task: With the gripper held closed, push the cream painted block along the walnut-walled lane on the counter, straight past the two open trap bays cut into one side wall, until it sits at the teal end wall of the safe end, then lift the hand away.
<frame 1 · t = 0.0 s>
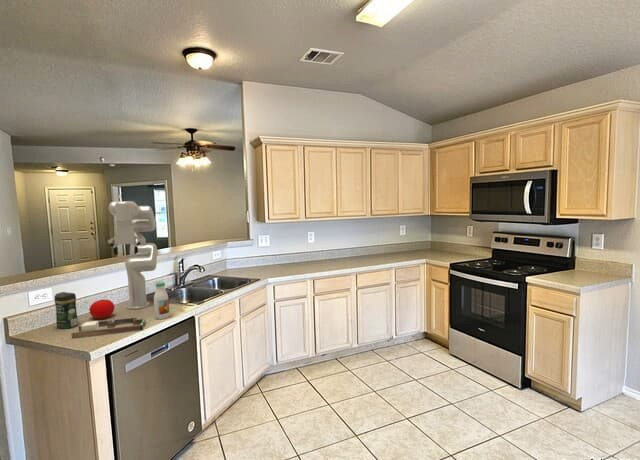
hand: (126, 254, 195), 37 cm above the worktop, tool pointing down, fingers open, 9 cm apart
milk bottle: (162, 317, 199), on the worktop
block: (90, 333, 177), resting in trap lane
coffee jar: (67, 326, 187), on the worktop
tomato: (102, 317, 201), on the worktop
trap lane: (110, 330, 180), on the worktop
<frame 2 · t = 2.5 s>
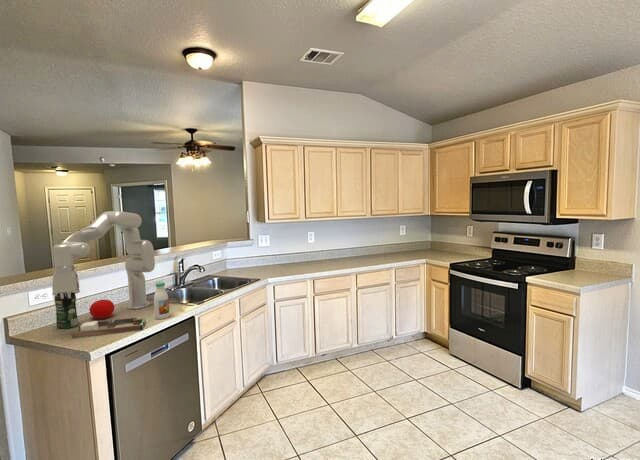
hand: (67, 305, 173), 15 cm above the worktop, tool pointing down, fingers closed
nothing on the worktop moved.
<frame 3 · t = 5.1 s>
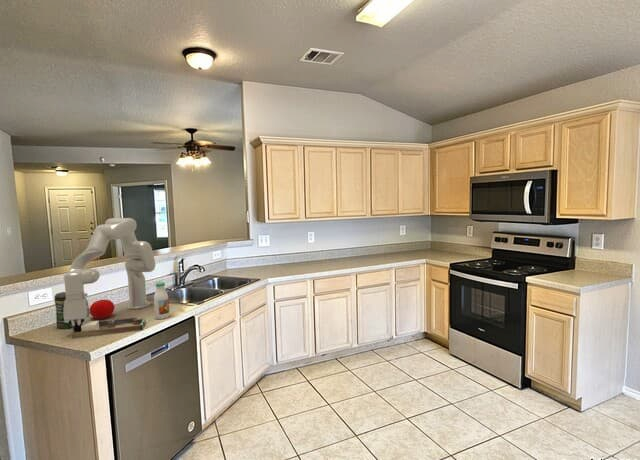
hand: (78, 332, 175), 1 cm above the worktop, tool pointing down, fingers closed
block: (90, 332, 177), resting in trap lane, touching gripper
everything else where it was.
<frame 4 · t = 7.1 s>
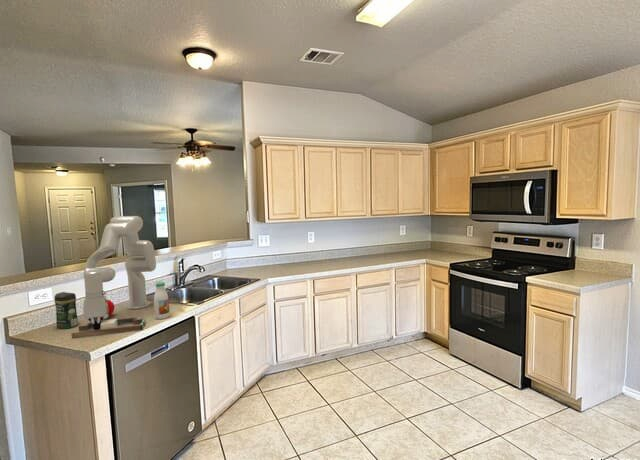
hand: (97, 330, 178), 1 cm above the worktop, tool pointing down, fingers closed
block: (109, 330, 179), resting in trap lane, touching gripper
everything else where it was.
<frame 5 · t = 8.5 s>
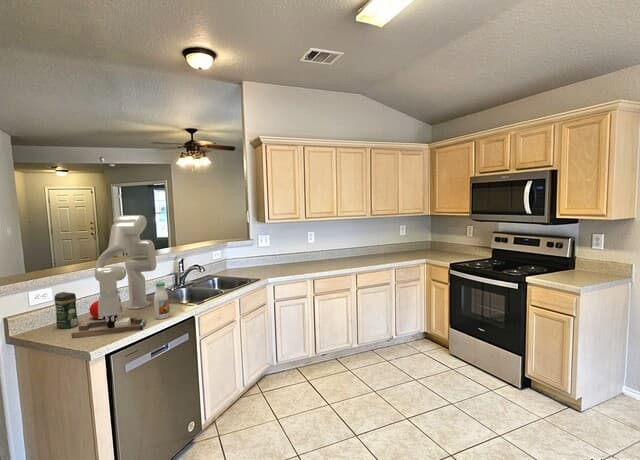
hand: (111, 328, 180), 1 cm above the worktop, tool pointing down, fingers closed
block: (123, 329, 181), resting in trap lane, touching gripper
everything else where it was.
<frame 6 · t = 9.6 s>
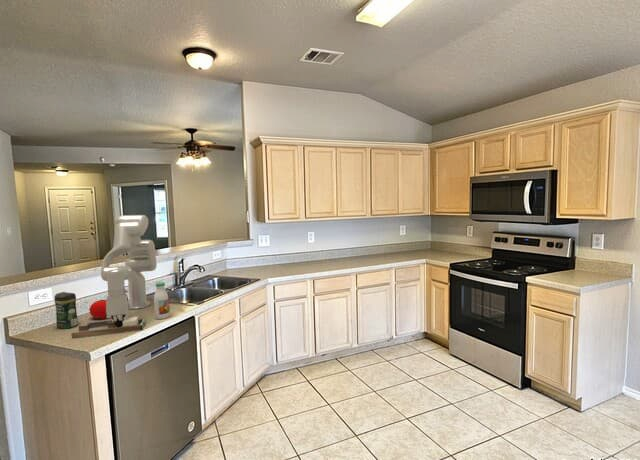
hand: (119, 327, 181), 1 cm above the worktop, tool pointing down, fingers closed
block: (131, 328, 182), resting in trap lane, touching gripper
everything else where it was.
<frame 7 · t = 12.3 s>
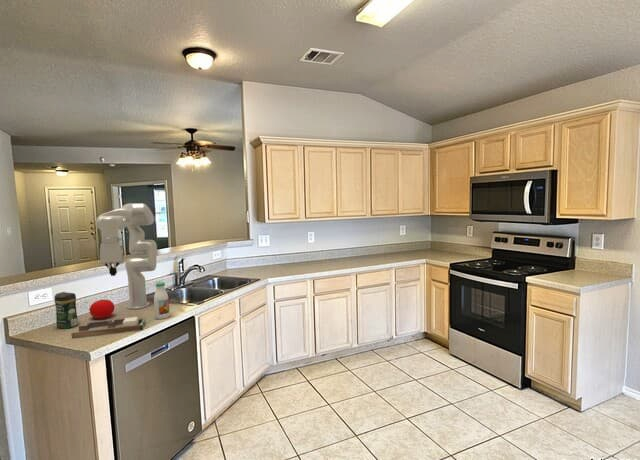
hand: (113, 275, 183), 28 cm above the worktop, tool pointing down, fingers closed
block: (131, 328, 182), resting in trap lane
everything else where it was.
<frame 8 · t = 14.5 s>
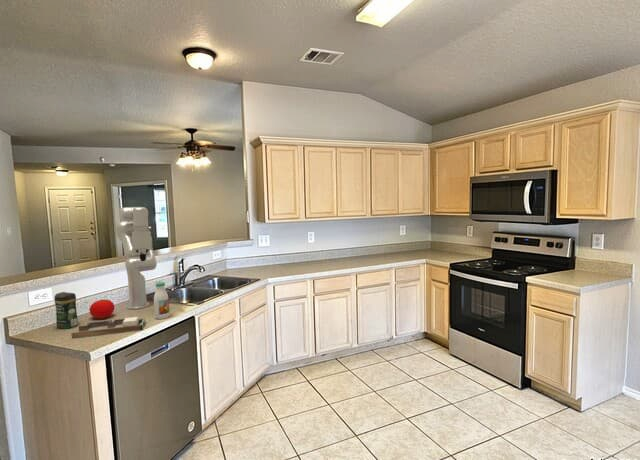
hand: (143, 260, 200), 32 cm above the worktop, tool pointing down, fingers closed
nothing on the worktop moved.
at the end: block inside the target area (0.8 cm from its centre), resting in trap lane; block tilted 0°; block moved 18.6 cm from its start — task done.
